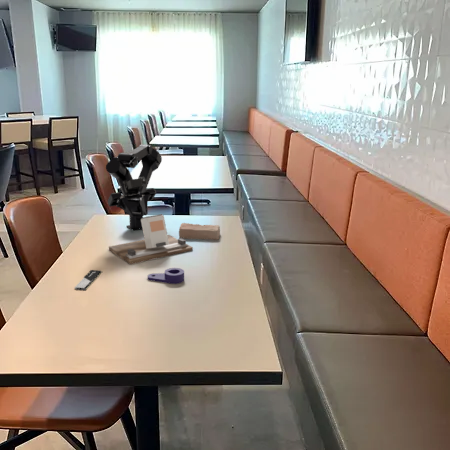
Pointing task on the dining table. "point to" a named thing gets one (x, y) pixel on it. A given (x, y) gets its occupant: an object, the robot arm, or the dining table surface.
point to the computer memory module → (88, 280)
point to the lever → (168, 276)
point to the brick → (199, 231)
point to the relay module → (154, 231)
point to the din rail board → (149, 250)
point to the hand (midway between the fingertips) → (139, 215)
